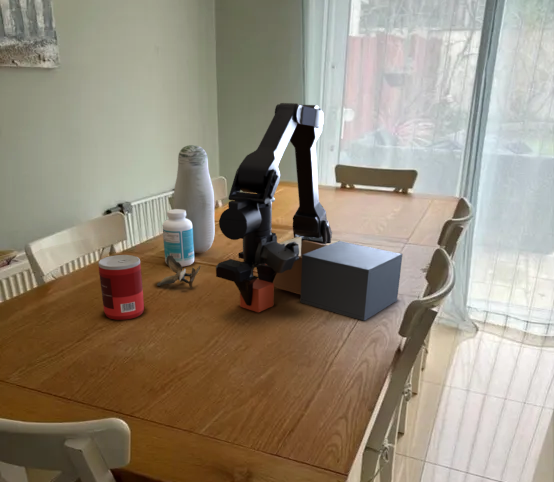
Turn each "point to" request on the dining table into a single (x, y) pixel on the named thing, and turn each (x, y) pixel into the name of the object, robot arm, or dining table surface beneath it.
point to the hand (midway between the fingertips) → (256, 301)
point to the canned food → (121, 286)
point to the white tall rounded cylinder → (196, 195)
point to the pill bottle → (178, 237)
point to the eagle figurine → (178, 273)
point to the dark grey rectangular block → (350, 279)
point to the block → (260, 296)
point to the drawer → (295, 267)
